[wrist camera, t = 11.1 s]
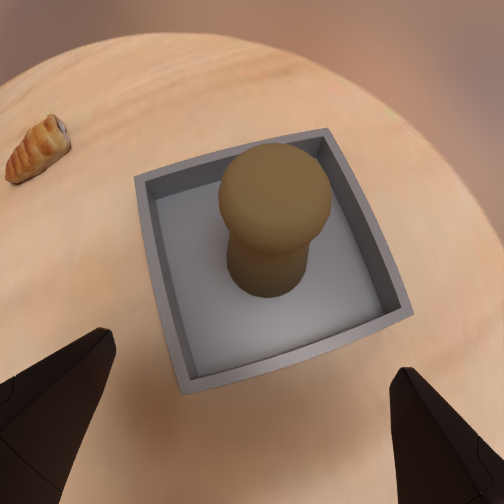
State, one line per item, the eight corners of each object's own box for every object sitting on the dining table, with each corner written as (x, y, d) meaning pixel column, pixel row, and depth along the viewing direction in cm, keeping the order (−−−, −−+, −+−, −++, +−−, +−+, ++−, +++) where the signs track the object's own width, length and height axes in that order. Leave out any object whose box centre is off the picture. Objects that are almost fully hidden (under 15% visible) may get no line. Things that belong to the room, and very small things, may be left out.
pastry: (16, 200, 26) (-3, 184, 22) (9, 167, 28) (-7, 151, 24) (77, 149, 28) (62, 128, 24) (63, 121, 29) (51, 101, 26)
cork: (229, 218, 24) (213, 121, 13) (307, 222, 23) (342, 129, 13) (222, 296, 22) (194, 242, 11) (307, 299, 21) (355, 250, 11)
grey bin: (193, 388, 20) (181, 395, 17) (148, 200, 25) (133, 176, 21) (390, 321, 22) (414, 314, 18) (319, 155, 27) (327, 127, 23)
